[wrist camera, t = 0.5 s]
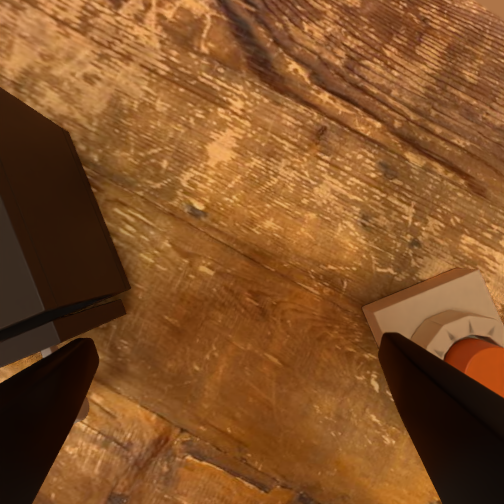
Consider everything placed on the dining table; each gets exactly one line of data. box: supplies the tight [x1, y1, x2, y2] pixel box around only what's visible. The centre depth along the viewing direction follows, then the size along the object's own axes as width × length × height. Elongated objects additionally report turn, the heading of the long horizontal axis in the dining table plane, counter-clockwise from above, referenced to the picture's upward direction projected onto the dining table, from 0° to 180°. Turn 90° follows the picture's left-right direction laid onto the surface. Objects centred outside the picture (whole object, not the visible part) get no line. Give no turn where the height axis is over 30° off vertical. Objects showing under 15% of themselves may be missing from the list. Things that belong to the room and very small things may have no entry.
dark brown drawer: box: [0, 299, 126, 423], centre depth 17 cm, size 17×10×7 cm, turn 22°
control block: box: [362, 268, 504, 360], centre depth 19 cm, size 10×8×4 cm
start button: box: [444, 338, 504, 398], centre depth 16 cm, size 4×4×2 cm
